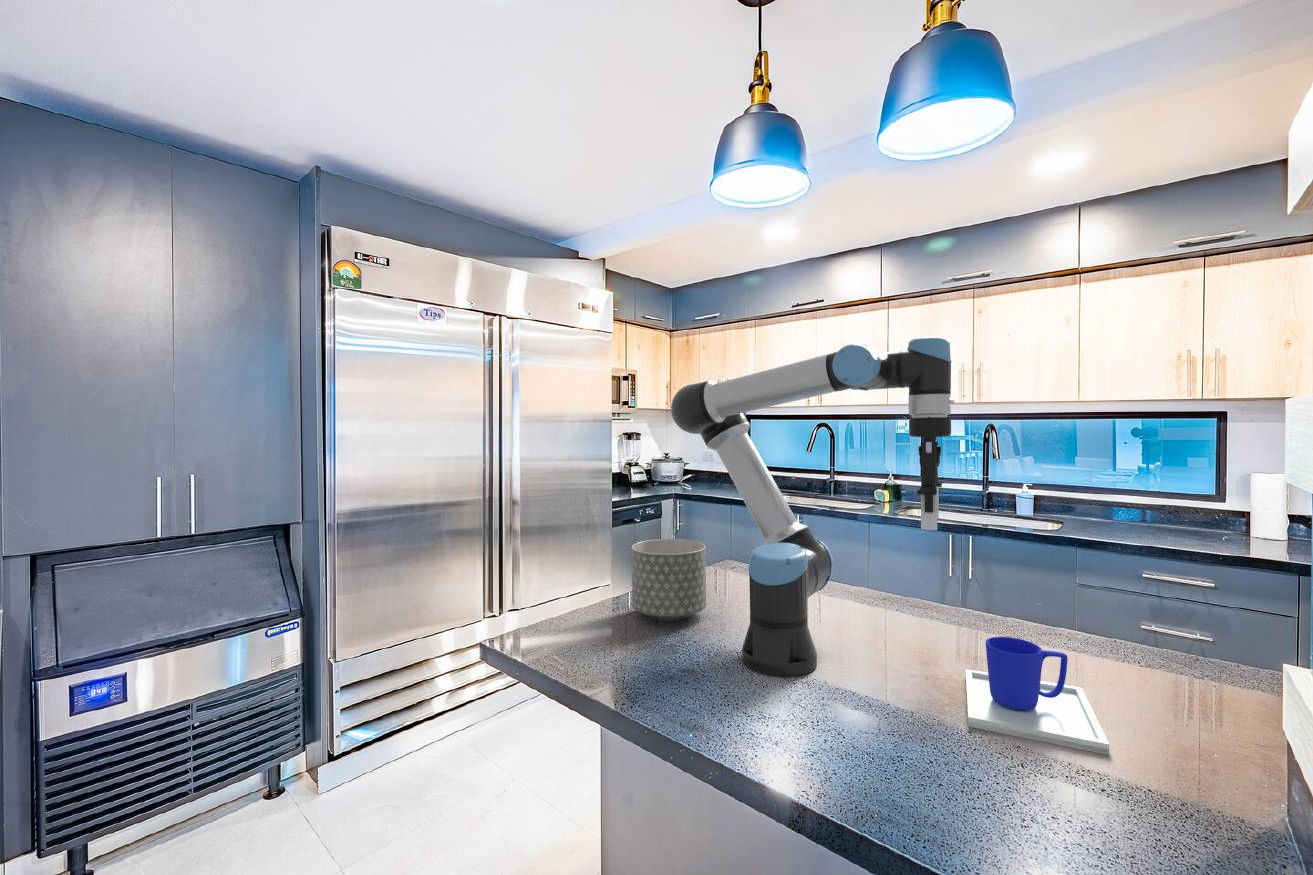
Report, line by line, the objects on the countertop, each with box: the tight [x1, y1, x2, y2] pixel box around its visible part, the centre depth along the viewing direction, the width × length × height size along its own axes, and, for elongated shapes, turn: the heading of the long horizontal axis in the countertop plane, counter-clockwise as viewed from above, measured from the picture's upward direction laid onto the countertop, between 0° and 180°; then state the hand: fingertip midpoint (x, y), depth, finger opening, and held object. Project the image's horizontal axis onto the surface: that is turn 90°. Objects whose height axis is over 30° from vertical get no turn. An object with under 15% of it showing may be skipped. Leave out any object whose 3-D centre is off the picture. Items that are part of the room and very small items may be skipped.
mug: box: [985, 636, 1069, 711], centre depth 96 cm, size 8×12×10 cm
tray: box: [965, 668, 1110, 756], centre depth 96 cm, size 18×20×2 cm
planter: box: [631, 538, 707, 622], centre depth 147 cm, size 19×19×18 cm
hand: (930, 524), depth 113 cm, fingers open, 13 cm apart
